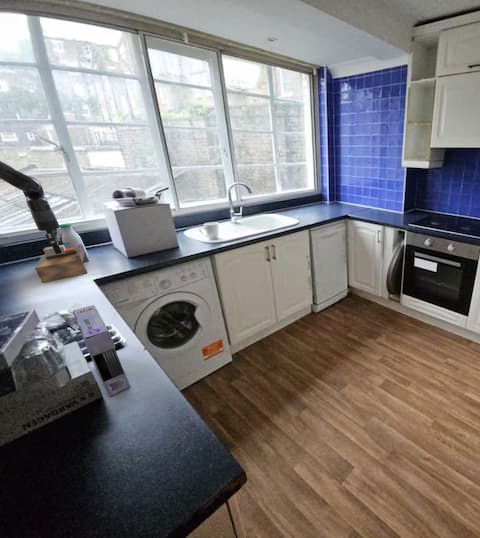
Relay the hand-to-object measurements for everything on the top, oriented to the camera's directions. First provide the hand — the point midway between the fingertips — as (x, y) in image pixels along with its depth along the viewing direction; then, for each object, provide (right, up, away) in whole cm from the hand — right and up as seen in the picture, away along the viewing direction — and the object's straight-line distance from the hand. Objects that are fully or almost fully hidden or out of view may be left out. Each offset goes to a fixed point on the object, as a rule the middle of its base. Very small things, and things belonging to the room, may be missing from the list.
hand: (59, 251), depth 147 cm
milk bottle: (-7, -3, +18) cm, 19 cm away
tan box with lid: (+2, -10, +2) cm, 10 cm away
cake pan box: (+85, -38, -69) cm, 116 cm away
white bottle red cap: (0, -2, +1) cm, 2 cm away
